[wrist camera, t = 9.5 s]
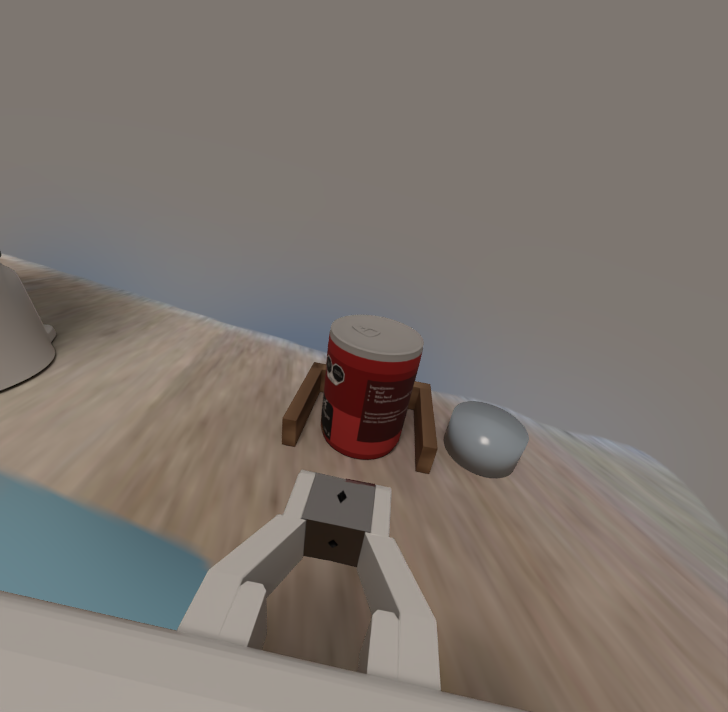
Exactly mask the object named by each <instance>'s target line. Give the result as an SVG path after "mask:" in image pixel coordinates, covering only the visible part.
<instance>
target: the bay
mask: <svg viewBox="0 0 728 712" xmlns="http://www.w3.org/2000/svg"><path fill="white" fill-rule="evenodd" d="M325 373H326V364H321V363H316V362H314V364H313V365H312V367H311V369H310V371H309V372H308V374H307V376H306V378H305V379H304V381H303V383H302V385H301V387H300V388H299V390H298V392H297V394H296V395H295V397H294V399H293V401H292V402H291V404H290V406H289V408H288V410H287V411H286V413H285V415H284V417H283V421H282V444H284V445H289V446H294V447H295V445H296V443H297V441H298V439H299V436H300V434H301V432H302V430H303V428H304V425H305V423H306V421H307V419H308V417H309V414H310V412H311V410H312V408H313V405H314V403H315V401H316V399H317V397H318V394H319V392H324V384H325ZM408 409H413V410H414V428H415V468H416V471H417V472H422V473H427V474H429V472H430V470H431V467H432V464H433V461H434V458H435V455H436V452H437V440H436V431H435V422H434V413H433V405H432V396H431V387H430V384H426V383H421V382H416V381H415V382H414V386H413V390H412V393H411V397H410V401H409V405H408Z"/></svg>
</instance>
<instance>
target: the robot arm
mask: <svg viewBox="0 0 728 712" xmlns="http://www.w3.org/2000/svg"><path fill="white" fill-rule="evenodd" d="M0 257H1V252H0ZM55 336H56V332H55V330H54V328H53V326H51V325H47V324H43V323H42V321H41V319H40V317H39V315H38V313H37V311H36V309H35V307H34V305H33V303H32V301H31V299H30V297H29V295H28V293H27V291H26V289H25V288H24V286H23V284H22V282H21V280H20V278H19V276H18V275H17V273H16V272H15V271H14V270H12V269H10V268H8V267H6V266H4V265H2V264H1V263H0V390H3V389H5V388H8V387H10V386H13V385H15V384H17V383H20V382H22V381H24V380H26V379H28V378H30V377H31V376H33V375H35V374H37V373H38V372H40V371H41V370H43V369H44V368H45V367H46V366H47V365H49V363H50V362H51V361H52V360H53V358H54V356H55V350H54V348H53V346H52V344H51V341H52V340H53V339H54V338H55ZM391 492H392V491H391V488H390V487H385V486H380V485H375V484H371V483H366V482H361V481H355V480H350V479H342V478H338V477H333V476H329V475H325V474H320V473H316V472H311V471H306V470H301V471H300V473H299V475H298V477H297V480H296V482H295V485H294V488H293V490H292V493H291V495H290V498H289V501H288V503H287V506H286V508H285V511H284V514H283V515H281V514H278V515H277V516H275V517H274V518H273V519H272V520H270V521H269V522H268V523H267V524H265V525H264V526H263V527H262V528H260V529H259V530H258V531H257V532H256V533H254V534H253V535H252V536H251V537H249V538H248V539H247V540H246V541H244V542H243V543H242V544H241V545H239V546H238V547H237V548H236V549H234V550H233V551H232V552H231V553H229V554H228V555H227V556H226V557H224V558H223V559H222V560H221V561H219V562H218V563H217V564H216V565H215V566H213V567H212V568H211V569H210V570H208V572H207V574H206V576H205V578H204V580H203V582H202V584H201V586H200V588H199V589H198V591H197V593H196V595H195V597H194V599H193V601H192V603H191V605H190V606H189V608H188V610H187V612H186V614H185V616H184V618H183V620H182V622H181V623H180V626H179V627H178V629H177V631H175V630H171V629H166V628H162V627H158V626H153V625H149V624H145V623H140V622H136V621H132V620H127V619H123V618H118V617H114V616H110V615H105V614H101V613H96V612H92V611H87V610H83V609H79V608H74V607H70V606H66V605H61V604H57V603H52V602H48V601H44V600H39V599H35V598H31V597H26V596H22V595H17V594H13V593H8V592H4V591H0V712H531V711H526V710H522V709H518V708H513V707H509V706H504V705H500V704H496V703H491V702H487V701H483V700H478V699H474V698H469V697H465V696H461V695H456V694H452V693H447V692H443V691H441V686H440V670H439V655H438V639H437V623H436V619H435V617H434V615H433V613H432V612H431V610H430V608H429V606H428V604H427V602H426V600H425V598H424V596H423V594H422V592H421V590H420V588H419V586H418V584H417V582H416V580H415V578H414V577H413V575H412V573H411V571H410V569H409V567H408V565H407V563H406V561H405V559H404V557H403V555H402V553H401V551H400V549H399V547H398V545H397V544H396V542H395V540H394V538H391V537H389V529H390V511H391ZM303 556H307V557H313V558H318V559H323V560H329V561H333V562H337V563H341V564H346V565H350V566H354V567H357V571H358V574H359V577H360V580H361V583H362V586H363V589H364V593H365V596H366V599H367V602H368V605H369V608H370V611H371V614H372V618H371V621H370V624H369V627H368V630H367V633H366V636H365V639H364V642H363V645H362V648H361V651H360V654H359V663H358V671H357V672H355V671H351V670H347V669H342V668H338V667H333V666H329V665H325V664H320V663H316V662H312V661H307V660H303V659H298V658H294V657H290V656H285V655H281V654H276V653H272V652H268V651H263V650H262V648H263V645H264V641H265V638H266V635H267V608H266V598H267V597H268V596H269V595H270V594H271V593H272V592H273V591H274V589H275V588H276V587H277V586H278V585H279V584H280V583H281V582H282V581H283V579H284V578H285V577H286V576H287V575H288V574H289V573H290V572H291V571H292V569H293V568H294V567H295V566H296V565H297V564H298V563H299V562H300V560H301V559H302V558H303Z"/></svg>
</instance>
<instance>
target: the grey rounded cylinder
mask: <svg viewBox="0 0 728 712" xmlns="http://www.w3.org/2000/svg"><path fill="white" fill-rule="evenodd" d="M528 440H529V437H528V433H527V431H526V429H525V427H524V426H523V425H522V424H521V423H520V421H518V420H517V419H516V418H515V417H514V416H512V415H511V414H509V413H508V412H506V411H505V410H503V409H501V408H498V407H496V406H493V405H490V404H487V403H483V402H476V401H469V402H463V403H460V404H458V405H457V406H456V407H455V408H454V410H453V413H452V416H451V419H450V422H449V425H448V428H447V430H446V433H445V436H444V445H445V448H446V450H447V452H448V453H449V455H450V456H451V457H452V459H453V460H454V461H455V462H457V463H458V464H459V465H460V466H462V467H463V468H465V469H466V470H468V471H470V472H472V473H474V474H476V475H479V476H483V477H487V478H503V477H506V476H508V475H510V474H511V473H512V472H513V470H514V469H515V467H516V465H517V463H518V461H519V459H520V457H521V455H522V453H523V451H524V449H525V447H526V445H527V444H528Z"/></svg>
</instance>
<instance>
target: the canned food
mask: <svg viewBox="0 0 728 712" xmlns="http://www.w3.org/2000/svg"><path fill="white" fill-rule="evenodd" d="M423 343H424V342H423V339H422V337H421V335H420V334H419V333H418V332H416V331H415V330H414V329H412V328H410V327H409V326H407V325H405V324H403V323H400V322H398V321H395V320H392V319H388V318H384V317H378V316H372V315H351V316H345V317H342V318H339V319H337V320H335V321H334V322H333V323H332V325H331V330H330V334H329V342H328V352H327V363H326V373H325V384H324V394H323V405H322V416H321V427H322V430H323V434H324V437H325V439H326V440H327V442H328V443H329V444H330V445H331V446H332V447H333V448H334V449H335V450H337V451H338V452H340V453H342V454H344V455H346V456H349V457H352V458H357V459H376V458H379V457H382V456H384V455H386V454H388V453H389V452H390V451H392V449H393V448H394V447H395V445H396V444H397V442H398V441H399V438H400V435H401V431H402V427H403V423H404V420H405V416H406V412H407V408H408V405H409V401H410V397H411V393H412V390H413V386H414V382H415V378H416V374H417V371H418V367H419V363H420V359H421V355H422V350H423Z"/></svg>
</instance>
